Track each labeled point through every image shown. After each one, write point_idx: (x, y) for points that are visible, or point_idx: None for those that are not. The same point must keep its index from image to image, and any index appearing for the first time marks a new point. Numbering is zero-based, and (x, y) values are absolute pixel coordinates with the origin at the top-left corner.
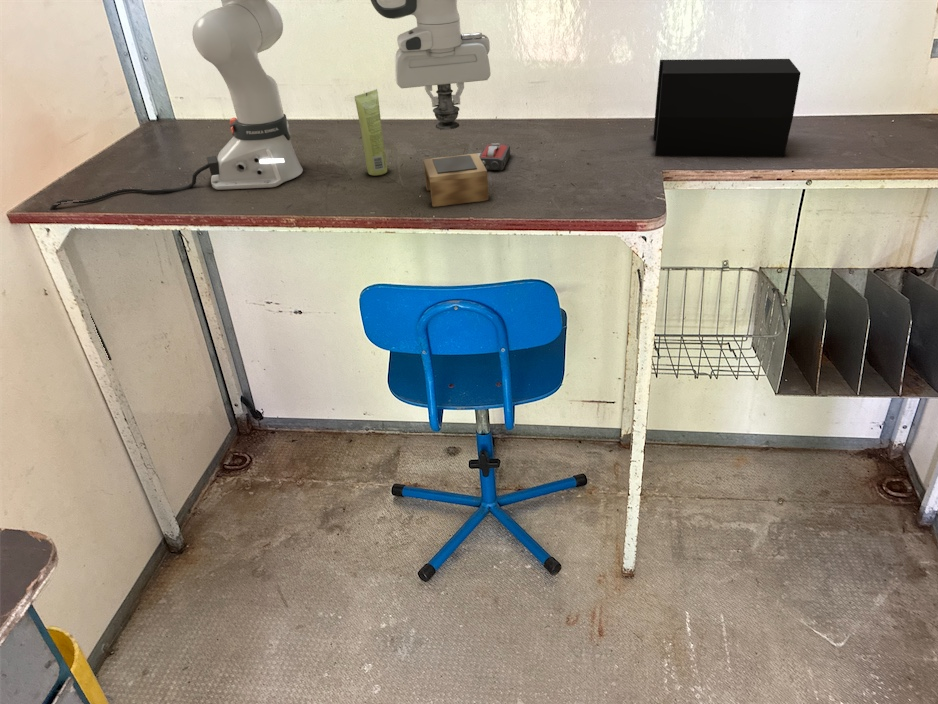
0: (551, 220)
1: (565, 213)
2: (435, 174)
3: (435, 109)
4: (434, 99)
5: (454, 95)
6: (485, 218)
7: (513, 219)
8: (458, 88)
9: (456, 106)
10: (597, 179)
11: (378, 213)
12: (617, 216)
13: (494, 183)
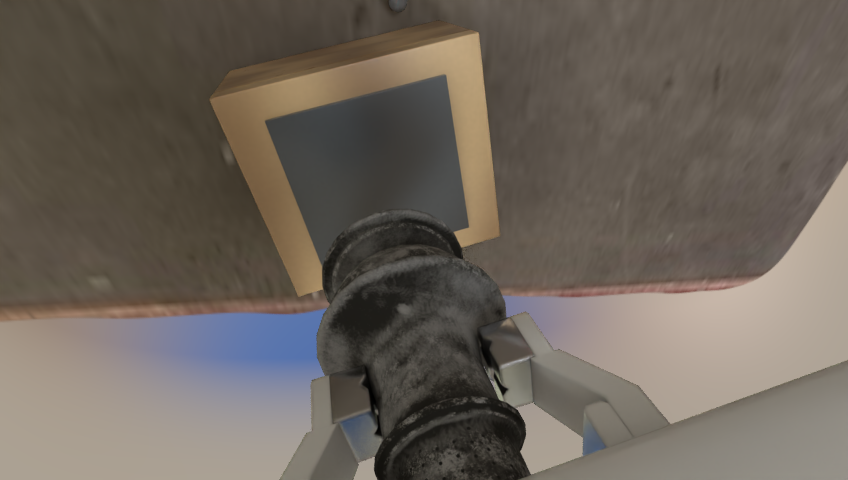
0: (590, 293)
1: (629, 260)
2: (315, 273)
3: (340, 365)
4: (354, 459)
5: (517, 380)
6: None
7: (514, 294)
8: (583, 397)
9: (490, 282)
10: (796, 39)
11: (124, 285)
12: (715, 269)
13: (494, 43)
